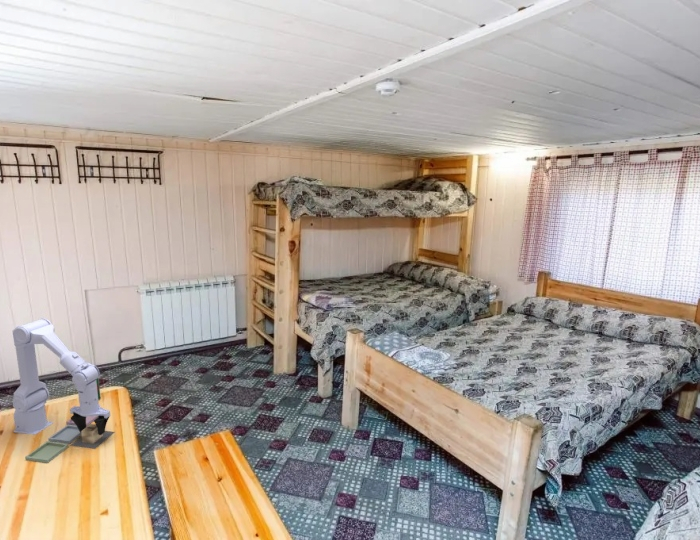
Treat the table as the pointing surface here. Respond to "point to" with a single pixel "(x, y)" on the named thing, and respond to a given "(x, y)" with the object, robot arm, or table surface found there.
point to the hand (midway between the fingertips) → (92, 432)
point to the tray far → (88, 420)
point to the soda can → (98, 388)
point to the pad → (90, 445)
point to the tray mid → (66, 435)
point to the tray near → (47, 452)
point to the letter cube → (90, 434)
